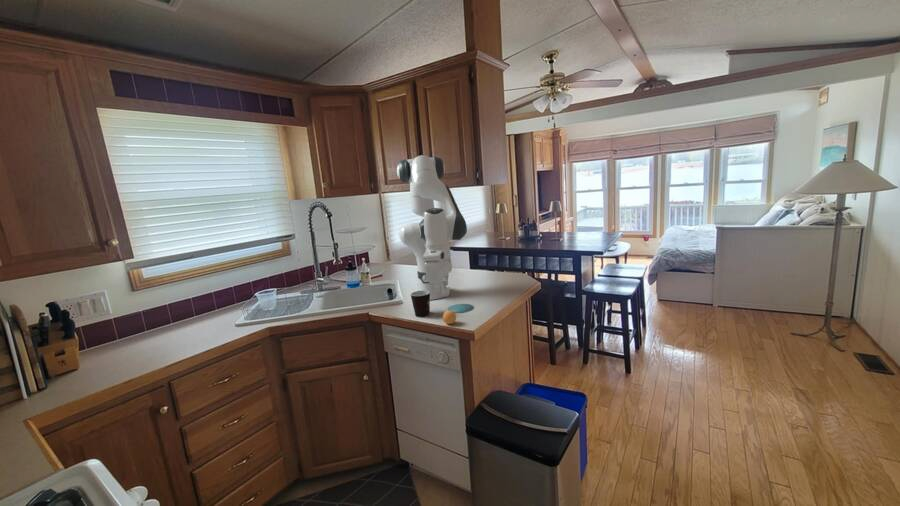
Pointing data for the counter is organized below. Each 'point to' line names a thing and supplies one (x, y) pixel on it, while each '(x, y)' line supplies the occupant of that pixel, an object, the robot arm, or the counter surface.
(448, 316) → the ball
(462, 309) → the disc
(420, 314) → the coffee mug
